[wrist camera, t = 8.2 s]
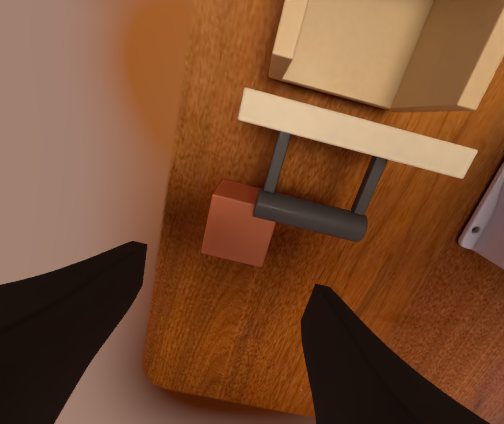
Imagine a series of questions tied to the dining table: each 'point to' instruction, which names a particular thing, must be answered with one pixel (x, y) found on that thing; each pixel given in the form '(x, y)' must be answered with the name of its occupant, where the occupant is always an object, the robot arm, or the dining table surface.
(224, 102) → the dining table surface
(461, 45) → the drawer
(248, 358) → the dining table surface
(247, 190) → the block
